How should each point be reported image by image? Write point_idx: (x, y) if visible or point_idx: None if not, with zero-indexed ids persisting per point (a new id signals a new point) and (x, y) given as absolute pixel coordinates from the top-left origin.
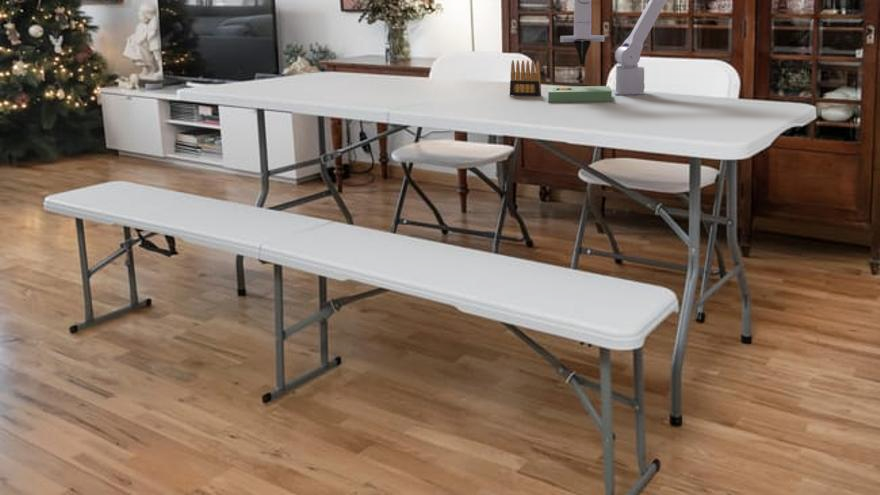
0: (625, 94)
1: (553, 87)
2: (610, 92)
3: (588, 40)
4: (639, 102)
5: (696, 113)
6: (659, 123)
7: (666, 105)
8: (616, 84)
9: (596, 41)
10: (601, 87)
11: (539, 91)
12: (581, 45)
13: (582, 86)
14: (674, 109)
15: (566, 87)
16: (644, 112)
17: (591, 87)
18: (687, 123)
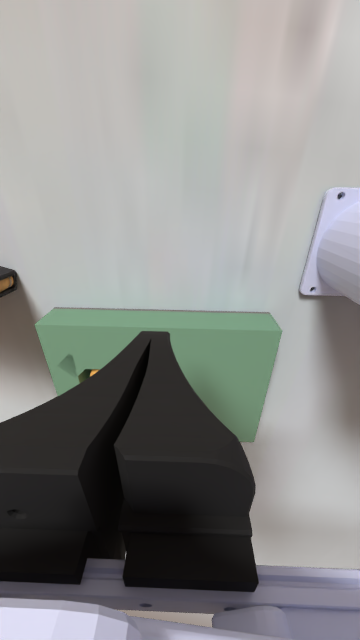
0: (337, 294)
1: (58, 342)
2: (249, 438)
3: (215, 606)
4: (314, 430)
5: (357, 527)
6: (266, 564)
7: (354, 467)
8: (334, 269)
9: (345, 583)
10: (241, 364)
11: (3, 295)
12: (123, 549)
13: (170, 328)
14: (343, 501)
15: (109, 349)
16: (276, 515)
17: (204, 360)
18: (301, 566)
